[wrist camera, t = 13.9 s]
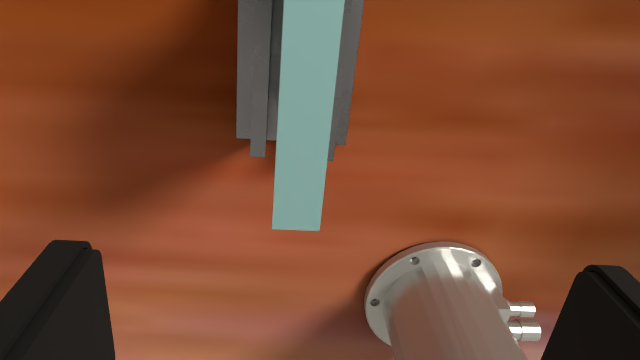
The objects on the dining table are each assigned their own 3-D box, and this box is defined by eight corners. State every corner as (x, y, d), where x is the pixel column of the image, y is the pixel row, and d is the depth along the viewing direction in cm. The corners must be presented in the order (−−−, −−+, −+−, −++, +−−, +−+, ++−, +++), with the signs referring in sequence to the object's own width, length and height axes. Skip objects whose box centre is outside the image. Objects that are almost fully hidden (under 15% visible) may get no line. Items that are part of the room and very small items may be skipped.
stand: (370, -69, 28) (382, -70, 25) (343, 139, 35) (350, 162, 31) (240, -83, 28) (233, -87, 24) (237, 132, 34) (232, 155, 30)
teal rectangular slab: (318, -42, 28) (347, -28, 15) (305, 113, 33) (319, 230, 19) (285, -46, 28) (286, -34, 15) (277, 111, 32) (272, 228, 19)
